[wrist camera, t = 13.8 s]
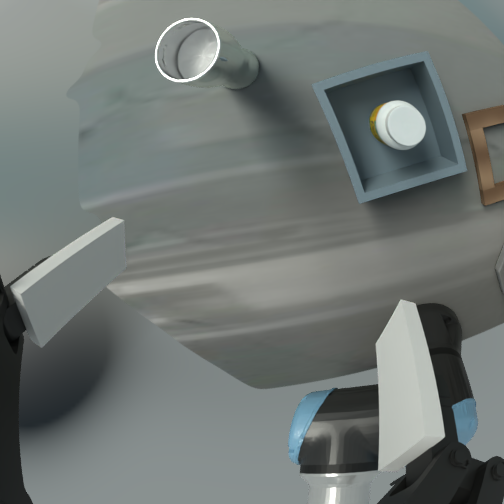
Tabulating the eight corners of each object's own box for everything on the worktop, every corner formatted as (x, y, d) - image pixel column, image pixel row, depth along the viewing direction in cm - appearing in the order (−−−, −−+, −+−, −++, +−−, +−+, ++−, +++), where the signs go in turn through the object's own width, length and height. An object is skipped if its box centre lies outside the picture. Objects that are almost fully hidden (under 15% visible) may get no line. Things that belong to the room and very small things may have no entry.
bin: (446, 160, 31) (467, 170, 25) (354, 188, 37) (359, 203, 31) (411, 60, 27) (427, 51, 21) (314, 89, 33) (311, 84, 27)
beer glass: (268, 50, 31) (232, 19, 19) (254, 97, 35) (211, 91, 22) (220, 41, 32) (163, 14, 19) (207, 86, 36) (145, 80, 23)
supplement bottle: (416, 129, 30) (442, 133, 22) (386, 153, 33) (404, 164, 24) (389, 95, 29) (409, 88, 21) (359, 119, 32) (369, 120, 24)
